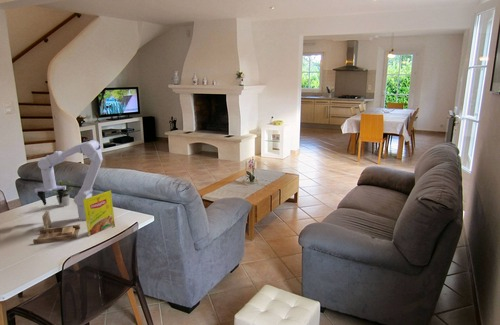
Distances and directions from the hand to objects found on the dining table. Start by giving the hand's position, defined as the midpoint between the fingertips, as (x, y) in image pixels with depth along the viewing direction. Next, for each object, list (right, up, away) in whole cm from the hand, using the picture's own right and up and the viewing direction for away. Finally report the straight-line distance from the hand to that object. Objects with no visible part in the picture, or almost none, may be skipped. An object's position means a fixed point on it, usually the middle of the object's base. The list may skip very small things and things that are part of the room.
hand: (53, 203), depth 190 cm
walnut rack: (+13, -14, -18) cm, 26 cm away
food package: (+32, -13, -13) cm, 37 cm away
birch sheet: (+3, -12, -9) cm, 15 cm away
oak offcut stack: (+17, -13, -17) cm, 28 cm away
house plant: (-6, -4, +22) cm, 23 cm away
